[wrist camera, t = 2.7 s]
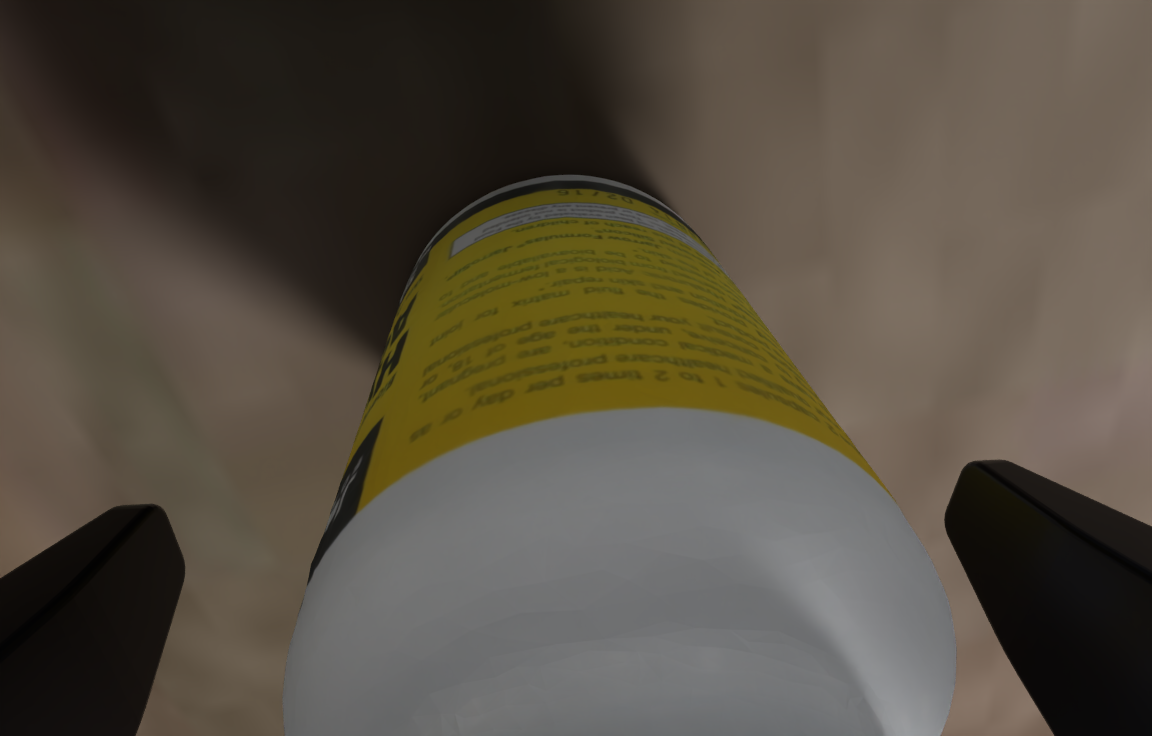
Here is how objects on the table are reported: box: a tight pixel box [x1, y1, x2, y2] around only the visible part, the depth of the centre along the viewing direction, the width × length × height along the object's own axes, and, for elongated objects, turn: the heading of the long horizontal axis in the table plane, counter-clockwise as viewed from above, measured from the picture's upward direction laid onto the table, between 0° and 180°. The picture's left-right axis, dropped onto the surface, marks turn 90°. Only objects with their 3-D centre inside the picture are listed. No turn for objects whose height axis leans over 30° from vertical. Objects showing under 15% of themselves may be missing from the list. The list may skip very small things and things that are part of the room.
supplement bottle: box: [283, 175, 956, 736], centre depth 7 cm, size 5×5×10 cm
